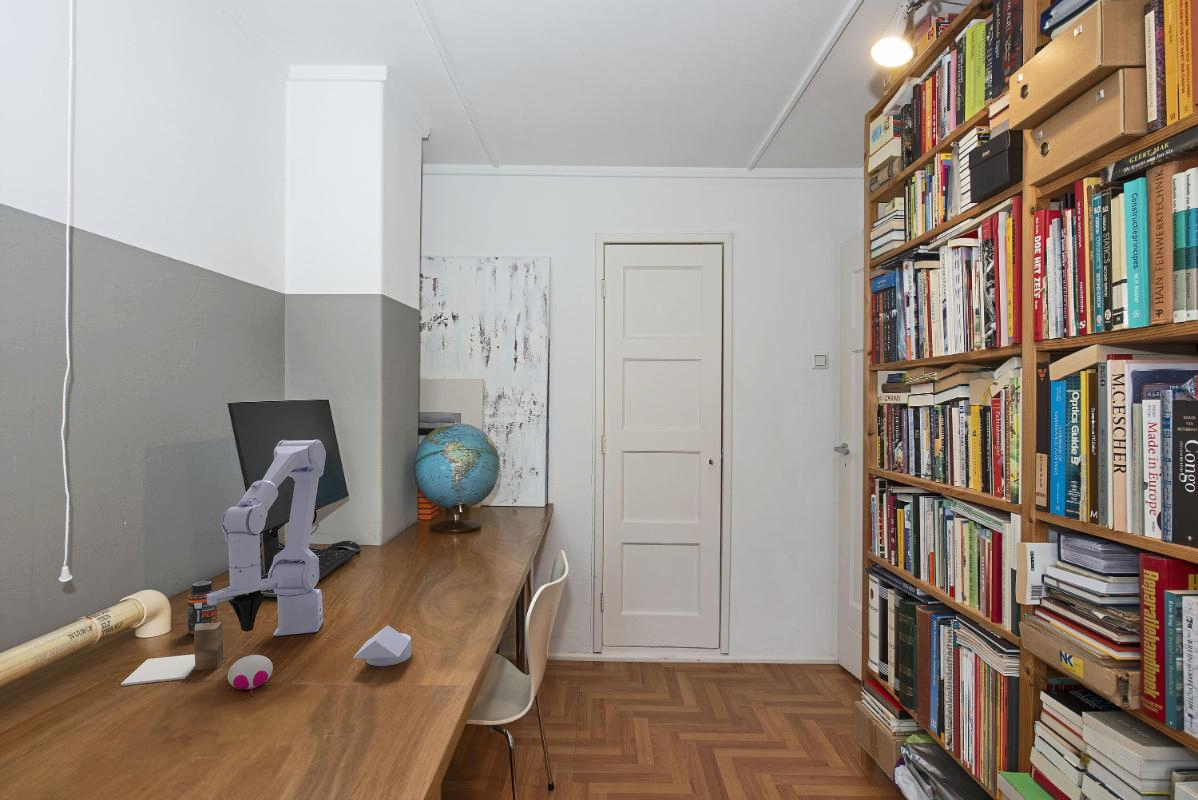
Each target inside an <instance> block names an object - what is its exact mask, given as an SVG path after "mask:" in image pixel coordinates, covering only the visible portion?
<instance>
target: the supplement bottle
mask: <svg viewBox="0 0 1198 800" xmlns="http://www.w3.org/2000/svg"><path fill="white" fill-rule="evenodd" d="M212 584H213V582H212V581H211V580H201V581H196V582H193V583H192V584H191V592H190V593H189V594H188V596H187V630H188V633H189V634H190V635H193V636H194V630H195V629H196V628H197V627H198V626H199V625H200V624H205V623H216V622H218V619H219V618H218V603H217V604H216V605H209V604H207V594H210V593H213V592H216V591H217V590H214V589H213V585H212Z"/></svg>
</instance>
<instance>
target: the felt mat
mask: <svg viewBox="0 0 1198 800" xmlns="http://www.w3.org/2000/svg"><path fill="white" fill-rule="evenodd" d="M194 670H195V653H194V654H184V655H176V656H175V655H173V656H165V657H155V658H148V659H146V660H145V661H144V662H143V663H141V664H140V666H138V667H137V668H136V669H135V670H134V671H132V673H131V674H130V675H129V676H128V677H126V679H124V680H122V682H121V683H120V686H121V687H122V686H124V687H125V686H131V685H132V686H133V685H140V684H142V685H143V684H149V683H157V682H158V683H159V682H167V681H168V682H170V681H177V680H179V681H180V680H185V679H186V678H187V677H189V675H190V674H191V673H192V672H193V671H194Z"/></svg>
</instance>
